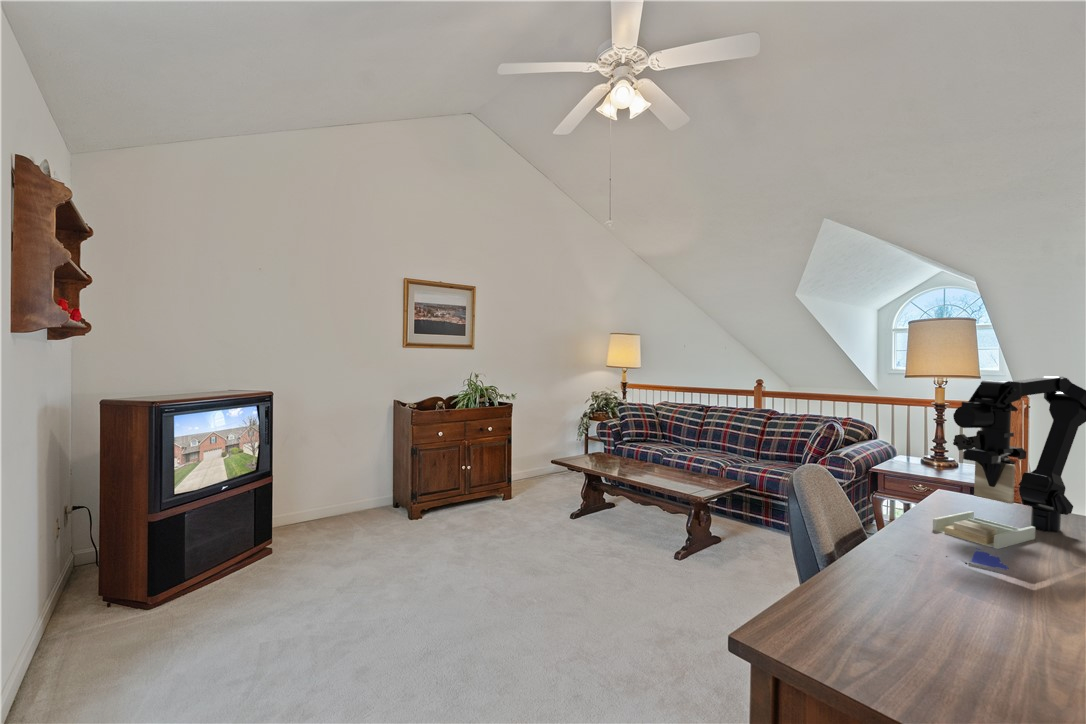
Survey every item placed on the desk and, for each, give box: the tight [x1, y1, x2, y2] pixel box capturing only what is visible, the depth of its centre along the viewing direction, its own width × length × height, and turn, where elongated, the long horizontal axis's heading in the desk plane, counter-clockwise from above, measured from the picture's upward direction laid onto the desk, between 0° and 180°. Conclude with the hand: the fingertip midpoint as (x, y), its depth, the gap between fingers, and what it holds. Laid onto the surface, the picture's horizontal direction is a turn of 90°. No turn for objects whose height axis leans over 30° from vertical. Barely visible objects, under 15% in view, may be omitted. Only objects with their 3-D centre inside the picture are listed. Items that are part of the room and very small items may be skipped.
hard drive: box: [967, 548, 1009, 576], centre depth 116 cm, size 2×8×12 cm
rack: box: [932, 510, 1036, 550], centre depth 132 cm, size 18×14×4 cm
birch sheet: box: [973, 461, 1016, 505], centre depth 135 cm, size 1×8×10 cm, turn 25°
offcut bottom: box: [943, 525, 994, 546], centre depth 130 cm, size 6×9×2 cm, turn 25°
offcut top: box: [954, 520, 997, 537], centre depth 130 cm, size 5×7×2 cm
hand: (993, 486), depth 135 cm, fingers closed on birch sheet, 1 cm apart
